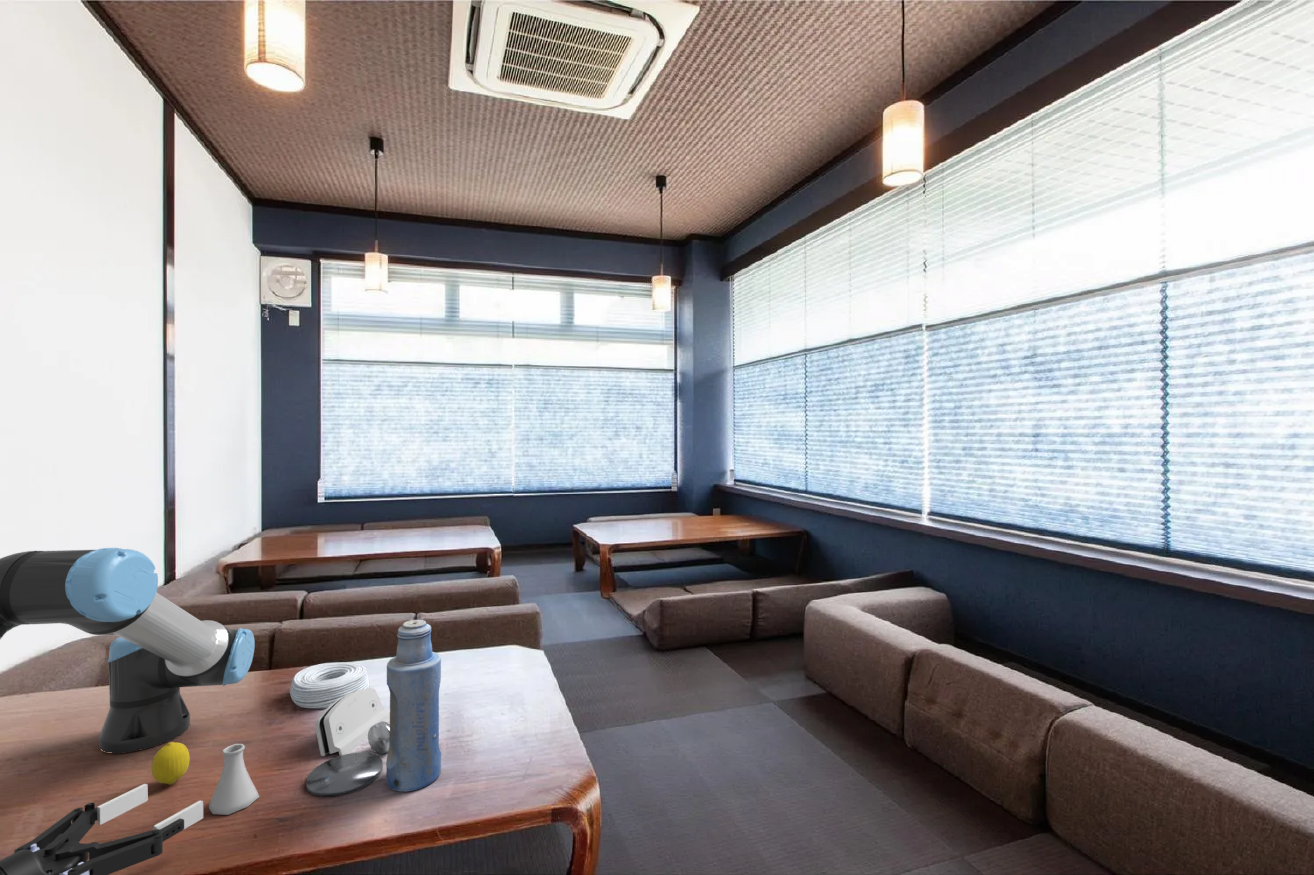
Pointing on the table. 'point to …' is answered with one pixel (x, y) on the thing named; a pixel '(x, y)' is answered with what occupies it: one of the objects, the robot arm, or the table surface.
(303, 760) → the table surface
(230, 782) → the flask
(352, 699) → the white flat angled piece
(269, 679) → the table surface
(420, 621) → the bottle
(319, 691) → the cable
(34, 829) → the table surface
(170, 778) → the lemon
